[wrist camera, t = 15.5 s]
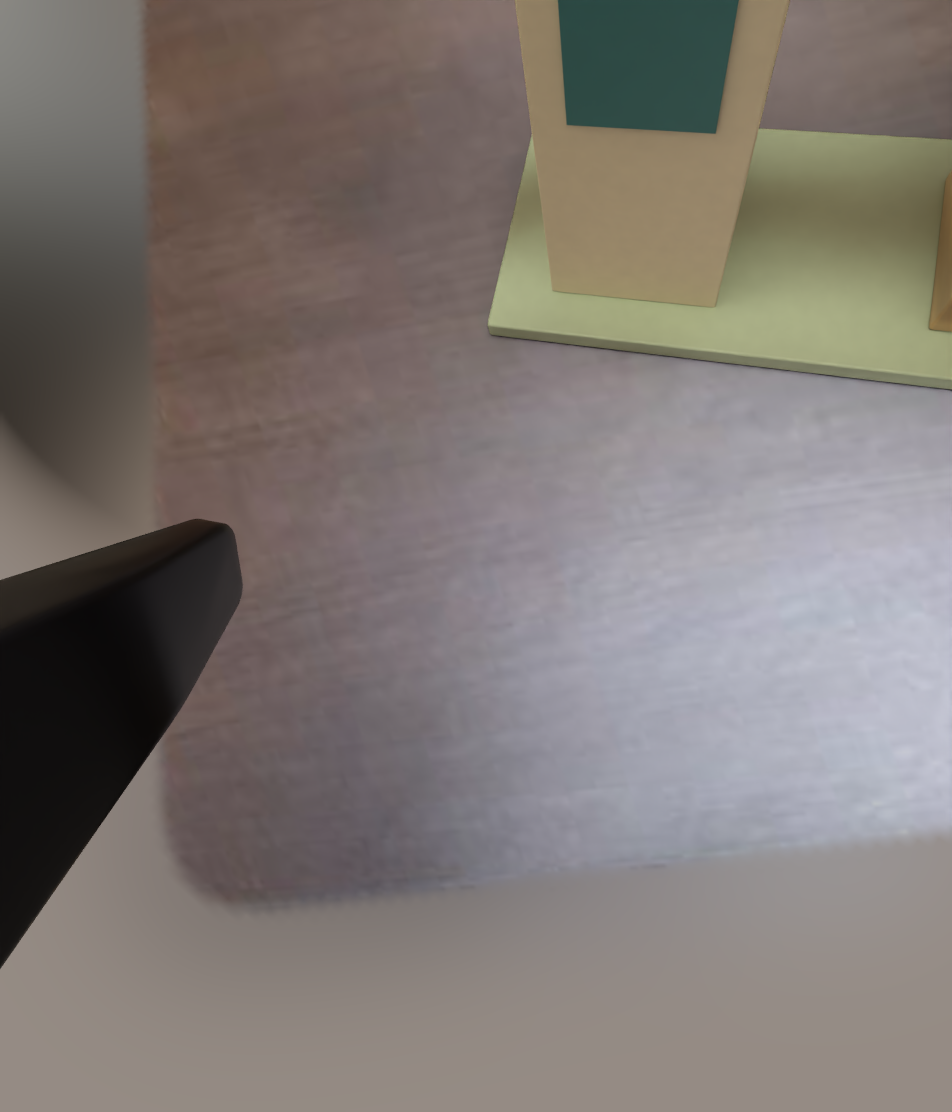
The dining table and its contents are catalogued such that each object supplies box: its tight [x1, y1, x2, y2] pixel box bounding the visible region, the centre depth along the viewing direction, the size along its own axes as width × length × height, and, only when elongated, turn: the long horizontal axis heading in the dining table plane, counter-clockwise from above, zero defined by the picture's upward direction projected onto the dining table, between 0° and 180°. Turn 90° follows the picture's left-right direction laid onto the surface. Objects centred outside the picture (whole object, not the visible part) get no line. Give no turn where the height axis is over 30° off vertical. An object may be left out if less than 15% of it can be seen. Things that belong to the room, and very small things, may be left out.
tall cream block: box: [515, 0, 790, 307], centre depth 17 cm, size 5×5×12 cm
